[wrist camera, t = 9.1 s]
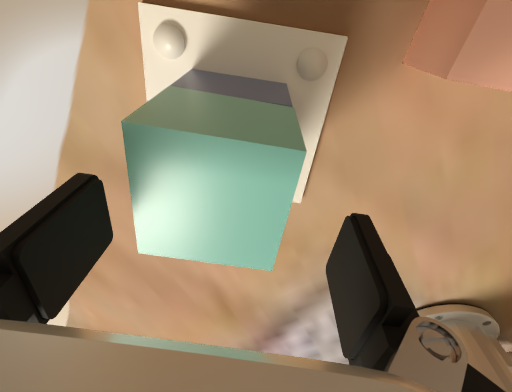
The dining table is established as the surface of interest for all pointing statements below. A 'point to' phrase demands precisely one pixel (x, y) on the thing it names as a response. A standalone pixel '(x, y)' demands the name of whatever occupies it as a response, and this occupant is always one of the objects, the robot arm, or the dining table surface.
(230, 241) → the teal brick
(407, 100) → the dining table surface
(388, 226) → the dining table surface
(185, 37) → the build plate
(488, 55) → the coral brick
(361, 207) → the dining table surface
